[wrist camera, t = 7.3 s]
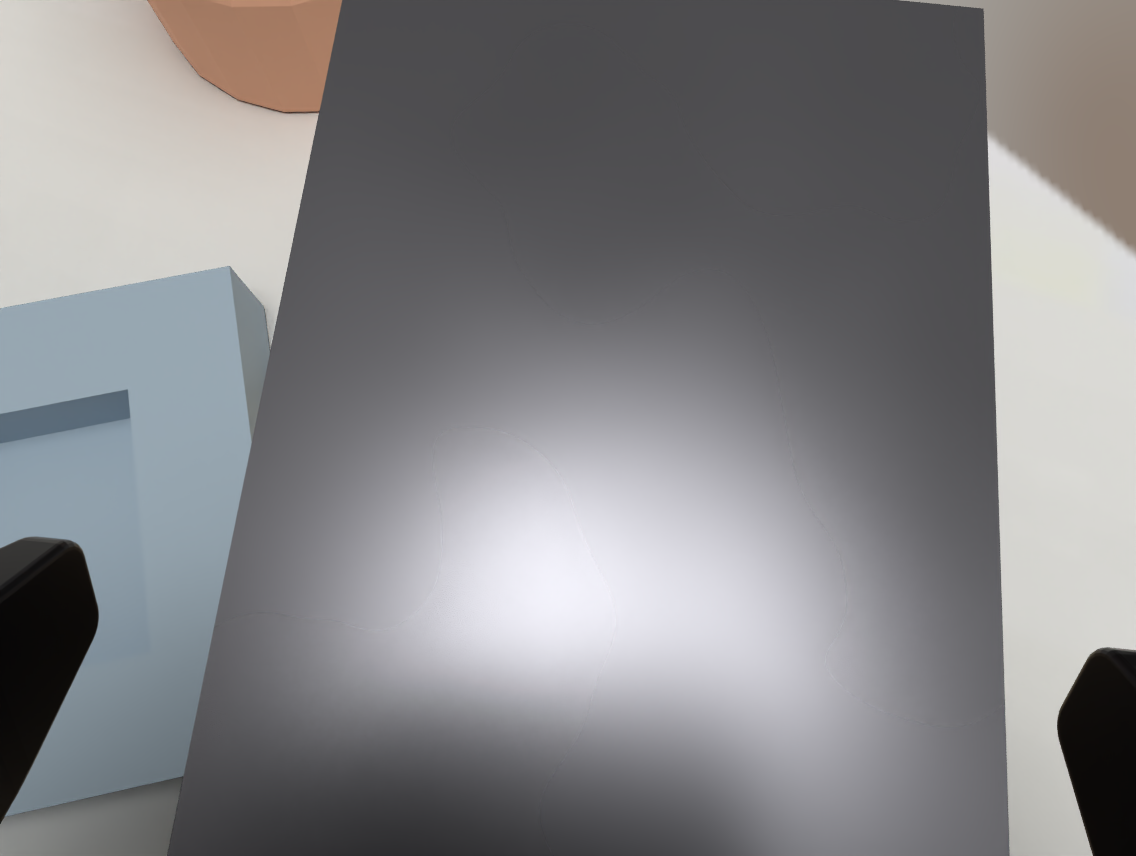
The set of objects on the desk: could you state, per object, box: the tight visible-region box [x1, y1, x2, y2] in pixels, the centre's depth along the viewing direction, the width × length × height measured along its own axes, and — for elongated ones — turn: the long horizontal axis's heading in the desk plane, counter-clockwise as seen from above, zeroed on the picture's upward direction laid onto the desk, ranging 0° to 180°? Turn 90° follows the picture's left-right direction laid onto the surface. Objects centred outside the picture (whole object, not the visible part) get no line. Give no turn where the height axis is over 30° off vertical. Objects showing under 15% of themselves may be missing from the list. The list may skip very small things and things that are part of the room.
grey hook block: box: [167, 0, 1009, 856], centre depth 10 cm, size 6×3×13 cm, turn 174°
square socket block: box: [0, 266, 270, 817], centre depth 16 cm, size 9×9×2 cm
